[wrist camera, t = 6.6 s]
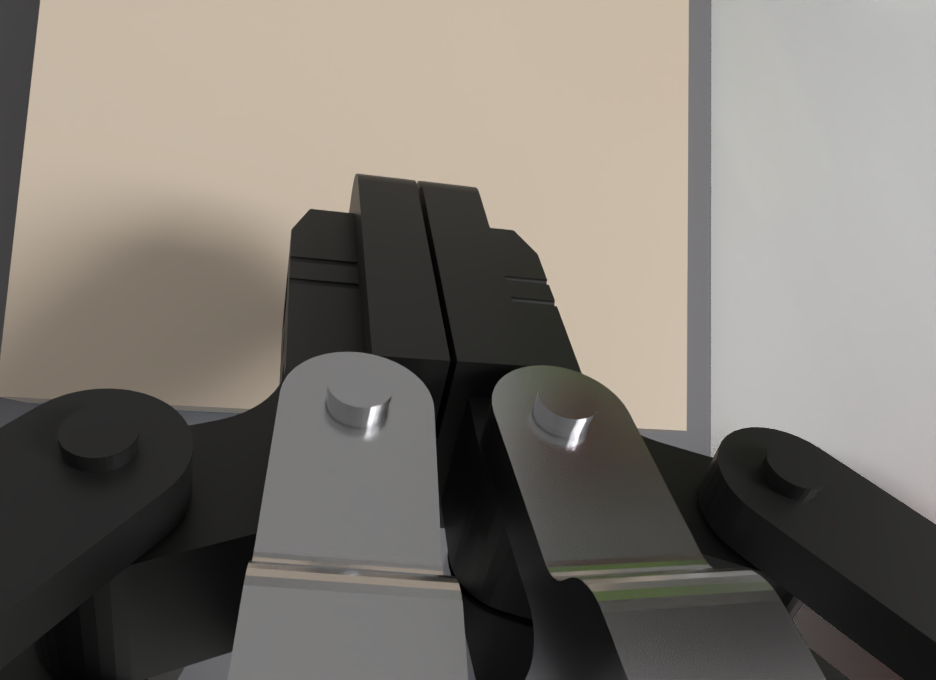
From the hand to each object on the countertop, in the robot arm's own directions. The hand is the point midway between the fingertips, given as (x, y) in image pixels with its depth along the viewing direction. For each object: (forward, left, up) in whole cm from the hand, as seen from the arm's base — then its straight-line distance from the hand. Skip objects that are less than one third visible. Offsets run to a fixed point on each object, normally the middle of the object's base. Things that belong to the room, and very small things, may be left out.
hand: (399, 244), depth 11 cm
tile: (-2, -1, -3) cm, 4 cm away
